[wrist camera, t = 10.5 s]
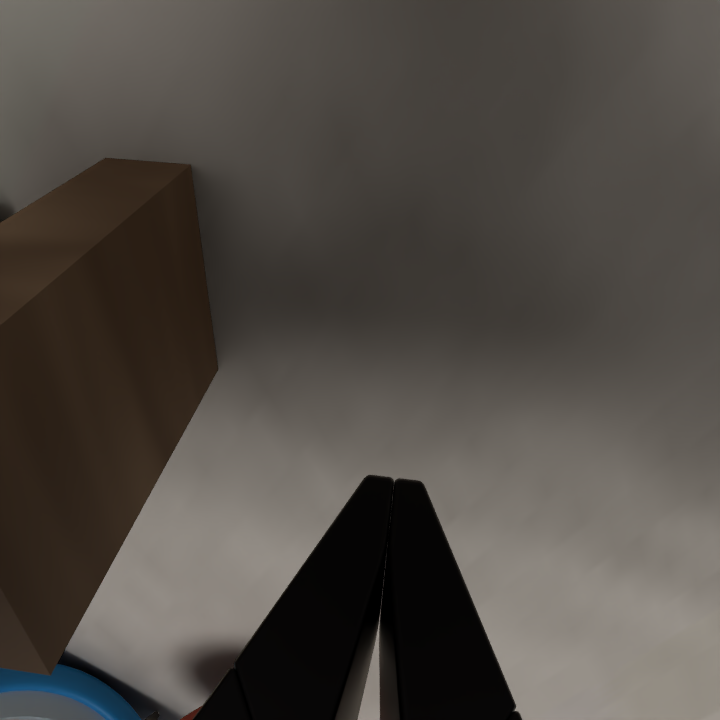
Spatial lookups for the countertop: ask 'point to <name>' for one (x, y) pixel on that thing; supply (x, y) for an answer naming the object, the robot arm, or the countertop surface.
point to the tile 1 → (91, 384)
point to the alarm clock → (61, 697)
